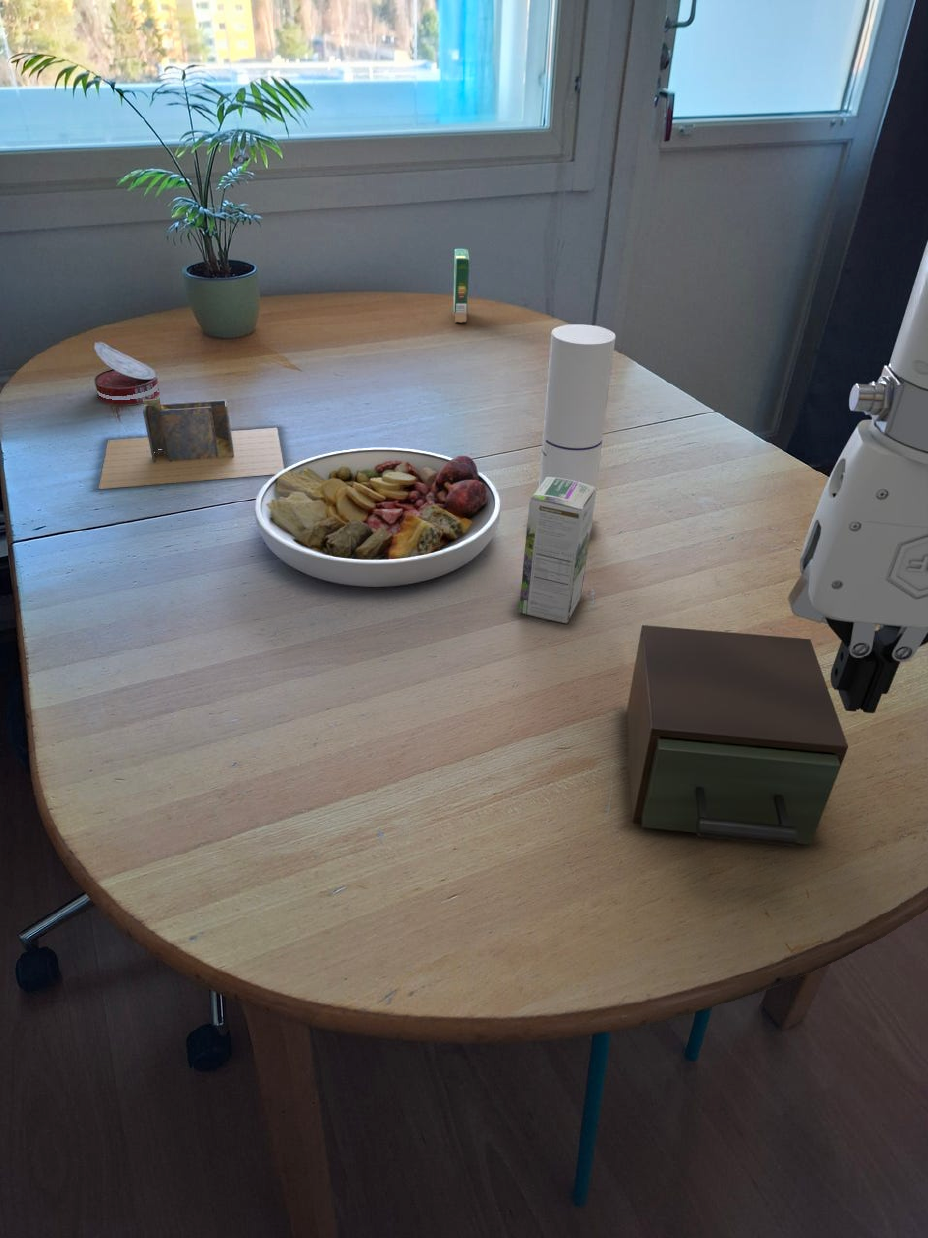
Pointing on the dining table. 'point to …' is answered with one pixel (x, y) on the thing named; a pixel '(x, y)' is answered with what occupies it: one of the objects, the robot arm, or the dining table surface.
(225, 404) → the ruin model on sheet
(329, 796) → the dining table surface
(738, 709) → the cabinet
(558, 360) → the cylindrical container
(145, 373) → the canned food
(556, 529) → the syrup box
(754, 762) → the drawer
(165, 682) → the dining table surface
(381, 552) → the bowl
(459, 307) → the coffee box
